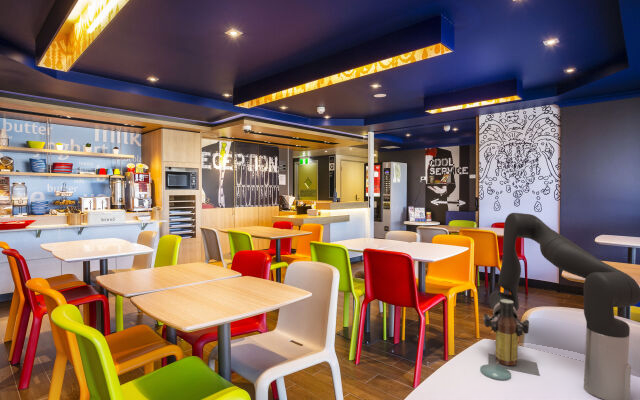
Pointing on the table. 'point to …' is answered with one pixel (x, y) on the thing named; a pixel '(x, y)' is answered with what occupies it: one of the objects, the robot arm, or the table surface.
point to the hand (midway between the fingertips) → (506, 331)
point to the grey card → (520, 366)
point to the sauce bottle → (506, 334)
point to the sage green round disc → (495, 372)
